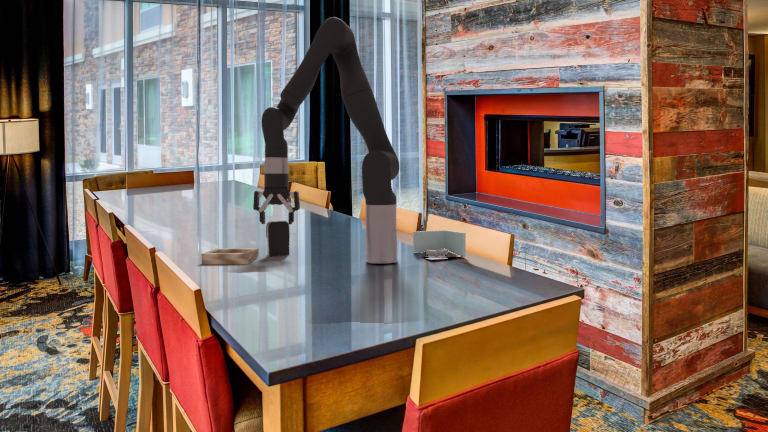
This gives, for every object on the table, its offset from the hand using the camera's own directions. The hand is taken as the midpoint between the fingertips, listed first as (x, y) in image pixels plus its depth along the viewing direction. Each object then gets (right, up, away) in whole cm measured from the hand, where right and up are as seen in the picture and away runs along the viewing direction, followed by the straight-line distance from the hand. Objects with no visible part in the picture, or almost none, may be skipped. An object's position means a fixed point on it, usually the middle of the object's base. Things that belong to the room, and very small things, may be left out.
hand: (276, 224), depth 194 cm
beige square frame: (-12, -11, -9) cm, 19 cm away
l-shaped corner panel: (+51, -10, -1) cm, 52 cm away
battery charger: (0, -11, 0) cm, 11 cm away
